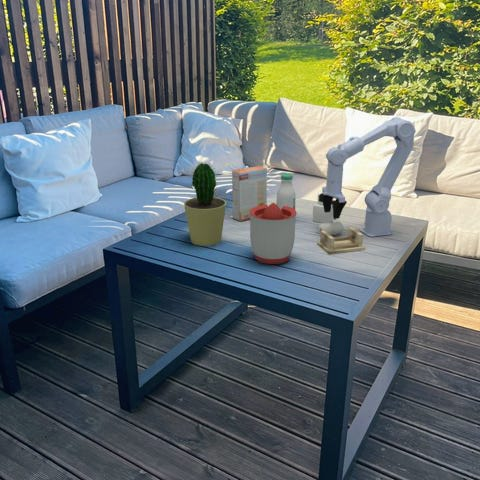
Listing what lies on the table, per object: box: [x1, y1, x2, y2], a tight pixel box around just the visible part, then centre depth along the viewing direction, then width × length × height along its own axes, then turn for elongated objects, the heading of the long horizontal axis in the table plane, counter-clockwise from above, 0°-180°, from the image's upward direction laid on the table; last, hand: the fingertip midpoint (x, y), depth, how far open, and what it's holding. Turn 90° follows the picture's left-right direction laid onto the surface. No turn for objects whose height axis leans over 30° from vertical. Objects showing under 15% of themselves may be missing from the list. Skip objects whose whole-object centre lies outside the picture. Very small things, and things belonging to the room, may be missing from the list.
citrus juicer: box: [249, 202, 297, 265], centre depth 172 cm, size 16×17×20 cm
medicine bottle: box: [312, 191, 335, 224], centre depth 209 cm, size 7×7×12 cm
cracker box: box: [231, 165, 268, 222], centre depth 211 cm, size 14×6×21 cm, turn 124°
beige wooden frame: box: [316, 226, 366, 255], centre depth 183 cm, size 10×14×6 cm
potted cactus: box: [183, 162, 227, 247], centre depth 185 cm, size 15×15×30 cm
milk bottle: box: [275, 173, 296, 210], centre depth 205 cm, size 8×8×20 cm
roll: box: [317, 221, 344, 236], centre depth 195 cm, size 8×5×5 cm, turn 108°
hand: (331, 215), depth 192 cm, fingers open, 7 cm apart
